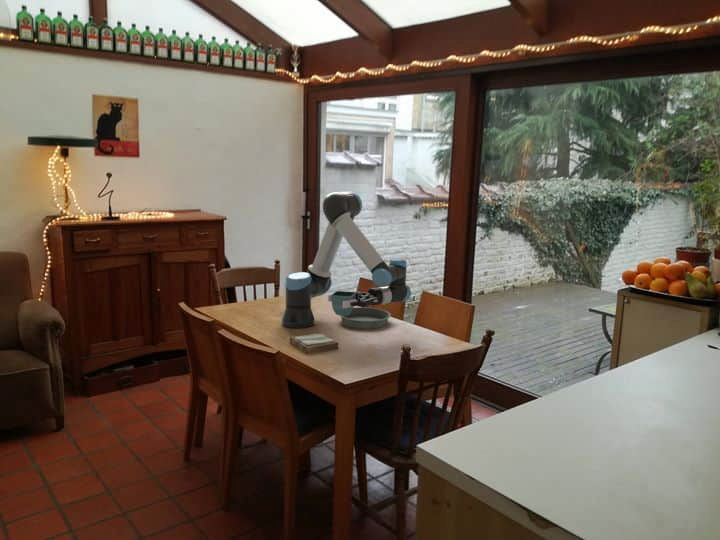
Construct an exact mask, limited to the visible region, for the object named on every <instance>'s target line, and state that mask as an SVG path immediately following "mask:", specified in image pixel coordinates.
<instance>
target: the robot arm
mask: <svg viewBox="0 0 720 540" xmlns="http://www.w3.org/2000/svg"><path fill="white" fill-rule="evenodd" d="M362 209H363V201H362V199H361V196H360V195H359V194H358V193H355V192H354V191H349V190H345V191H338V192H337V191H336V192H335V191H334V192H331V193H328V194H327V195H325V197H324V199H323V201H322V211H323V214H324V216H325V218H326V220H327V221H328V224H327V227H326V229H325V232H324V234H323V236H322V239H321V243H320V245H319V247H318V250H317V252H316V255H315V258H314V260H313V263H312V264H309V265H308V267H307V270H306V272H304V271H298V272H294V273H290V274H288V275H287V276H286V279H285V284H284V286H285V310H284V312H283V315H282V319H281V325H282V326H283V327H286V328H290V329H307V328H311V327H313V326H314V325H315V322H316V320H315V316H314V313H313V309H312V299H313V298H317V297H320V296H323V295H325V294H326V293H327V292H329V291H330V289H331V287H332V283H333V282H332V281H333V280H332V272H331V268H332V266H333V263H334V261H335V259H336V255H337V254H338V251H339V248H340V246H341V243H342V241H343V238H344V239H345V242H347V244H348V245H349V246H350V247H351V248H352V250H353V251H354V252H355V254H356V255H357V256H358V258H359V259H360V260H361V261H362V263H363V264H364V266H365V267H366V268H367V269H368V271H369V272H370V273H371V274H372V275H371V280H372V282H373V284H374V285H375V286H377V287H371V288H369V289H368V291H367V292H366V291H365V292H364V291H363V292H362V290H359V291H355V292H356V298H355V300H348V301H343V308H347V307H353V308H356V307H368V306H380V305H384V306H385V305H386V304H393V303H394V304H395V303H402V302H406V301H409V300H410V298H411V296H412V291H411V287H410V286H409V285H408V284H407V282H406V281H407V267H408V266H407V260H406V259H405V258H401V257H400V258H398V257H397V258H396V257H393V258H391V259H389V263H388V264H387V263H386V261H385V260H384V259H383V257H382V255H380V254H379V252H378V251H377V250H376V248H374V246H373V245H372V244H371V242H370V241H369V239H368V238H367V237H366V235H365V234H364V233H363V232H362V230H361V229H360V227H358V225H357V224H356V223H355V221H354V219H355V217H358V216H359V214H360V213H361V212H362ZM331 295H332V294H328V295H327V299H328V300H327V302H329V303H330V302H332V301H331Z"/></svg>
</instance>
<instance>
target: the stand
mask: <svg viewBox="0 0 720 540" xmlns="http://www.w3.org/2000/svg"><path fill="white" fill-rule="evenodd" d="M289 344H291V345H292V344H293V346H294V345H295V346H294V347H296V348H297V347H298V348H297V349H299V348H300V349H299V350H300V351H302V350H303V351H302V352H304V351H305V352H307V353H311V354H314V353H313V352H316V353H321V352H320V351H322V352H327V351H331V350H337V349H339V342H338V341H336V340H334V339H332V338H330V337H328V336H327V335H325V334H323V333H321V332H314V333H310V334H309V333H308V334H302V335H301V334H300V335H296V336H290V337H289ZM326 350H327V351H326ZM305 352H304V353H305ZM307 353H306V354H307Z"/></svg>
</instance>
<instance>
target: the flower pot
mask: <svg viewBox="0 0 720 540" xmlns="http://www.w3.org/2000/svg"><path fill="white" fill-rule="evenodd" d="M356 292H357V291H345V290H344V291H343V290H336V291H334V292H333V293H332V294H330V295H331V301H330V302H331V307H332V310H333V312H334V314H335V315H336V316H339V315H344V316H348V315H349V314H350V313H351V311H352V310H353V308H354V307H347V308H343V301H348V300H355V298H356Z"/></svg>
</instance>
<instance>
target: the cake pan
mask: <svg viewBox="0 0 720 540" xmlns="http://www.w3.org/2000/svg"><path fill="white" fill-rule="evenodd" d="M338 316H339V317H340V318H341V322H342V324H343V325H345V326H347V327H349V326H350V328H354V329H355V328H356V329H377V328H378V329H379V328H382V327H384V326H386V325H387V324H388V320H389V319H390V318H391V316H392V315H391V313H390V311H387V310H385V309H381V308H378V307H377V308H376V307H368V306H366V307H361V306H355V307H353V310H352V311H351V313H350V314H349V315H348V316H344V315H338Z"/></svg>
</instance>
